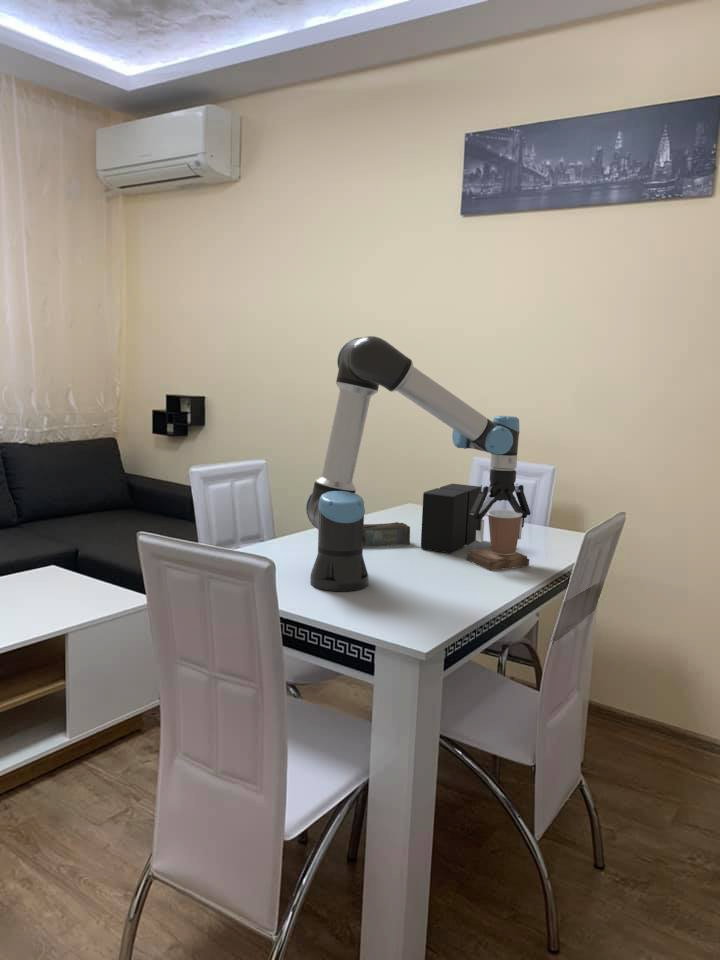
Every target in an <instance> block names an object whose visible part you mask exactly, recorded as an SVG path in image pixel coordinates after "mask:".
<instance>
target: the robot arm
mask: <svg viewBox="0 0 720 960" xmlns="http://www.w3.org/2000/svg"><path fill="white" fill-rule="evenodd" d="M336 360H337V361H336V362H337V363H336V364H337V368H338V369H337V370H338V371H337V374H336V375H337V376H336V381H335V383H336V386H337V387H338V389H339V394H338V397H337V398H338V399H337V403H336V408H335V412H334V416H333V417H334V418H333V422H332V426H331V432H330V435H329V440H328V444H327V449H326V454H325V459H324V463H323V468H322V473H321V475H320V476H319V477H318V478H316V479H315V480H314V485H313V488H312V492H311V494H310V495H309V497H308V499H307V501H306V504H305V505H306V507H305V510H306V515H307V518H308V520H309V522H310V523H311V525H312V526H313V527H314V528H315V529H316V530H317V531H318V536H317V537H318V539H317V540H318V541H317V555H316V557H315V561H314V564H313V566H312V569H311V572H310V577H309V578H310V579H309V580H310V584H311V586H313V587H315V588H317V589H320V590H325V591H331V592H352V591H353V592H354V591H359V590H362V589H364V588H366V587H368V585H369V573H368V569H367V566H366V563H365V559H364V555H363V553H364V551H363V548H364V546H363V529H364V521H365V513H366V511H365V510H366V509H365V501H364V498H363V497H362V496H361V495H359V494H358V493H356V490H357V488H356V486H355V485H354V483H353V479H354V475H355V471H356V466H357V462H358V456H359V452H360V447H361V442H362V439H363V435H364V430H365V429H364V428H365V424H366V420H367V415H368V411H369V407H370V401H371V398H372V396H374V395H375V394H377V393H378V391H379V387H380V386H381V387H383V388H385V389H386V390H388V391H389V392H391V393H392V392H393V393H394V392H398V393H399V394H400V395H402V396H404V397H405V398H406V399H408V400H410V402H412V403H414V404H415V405H417V406H419V407H420V408H421V409H423V410H424V411H426V412H427V413H428V414H430V415H432V416H433V417H434V418H436V419H437V420H439V421H441V422H442V423H443V424H445V425H447V427H450V428H451V429H452V434H451V435H452V443H453V445H454V446H455V448H457V449H464V450H466V449H472V450H476V451H481V452H484V453H489V454H490V467H491V468H490V470H489V483H490V484H489V486H487V485H480V492H479V495H478V497H477V499H476V501H475V503H474V505H473V507H472V509H471V511H470V513H469V516H470V517H473V518H474V519H475V526H474V528H475V530H476V541H477V542H479V543H483V542H484V533H485V532H484V531H485V530H484V529H485V519H483V518H485V516H486V514H487V512H488V511H490V509H491V507H493V505H494V504H495V503H497V501H498V502H501V501H506V502H507V501H508V503H509V504H510V506H511V508H512V509H513V511H515V512H517V513H522V514H523V515H522V516H521V523H520V529H519V536H518V540H522V530H523V528H524V526H525V519H527V517H528V516H530V515H531V514H532V513H531V510H530V507H529V503H528V500H527V498H526V494H525V492H524V487H525V486H524V485H523V484H520V483H516V479H517V470H515V469H517V466H518V452H519V450H518V449H519V437H520V434H521V433H520V419H519V418H518V417H517V416H511V415H494V417H493V420H490V419H489V418H487V417H486V416H485V415H483V413H481V412H479V411H478V410H476V409H475V408H474V407H472V406H470V405H469V404H468V403H466V402H465V401H463V400H462V399H461V398H459V397H458V396H456V395H455V394H454V393H452V392H450V391H449V390H447V389H446V388H445V387H443V386H442V385H440V384H439V383H438V382H436V381H435V380H434V379H432V378H431V377H429V376H427V375H426V374H425V373H423V372H422V371H421V370H419V369H418V368H416V367H415V366H414V364H413V363H414V362H413V360H412V359H411V358H409V357H408V356H406V355H405V354H404V353H402V352H401V351H399V349H397V348H396V347H395V346H393V345H391V344H390V342H388V341H386V340H384V339H383V338H382V337H381V338H380V337H378V336H375V335H373V336H372V335H370V336H363V337H355V338H353V339H350V340H349V341H347V342H346V343H345V344H343V346H342V347H341V348H340V350H339V351H338V355H337V359H336ZM513 493H515V495H516V497H515V495H514V494H513ZM516 498H517V499H516Z"/></svg>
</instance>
